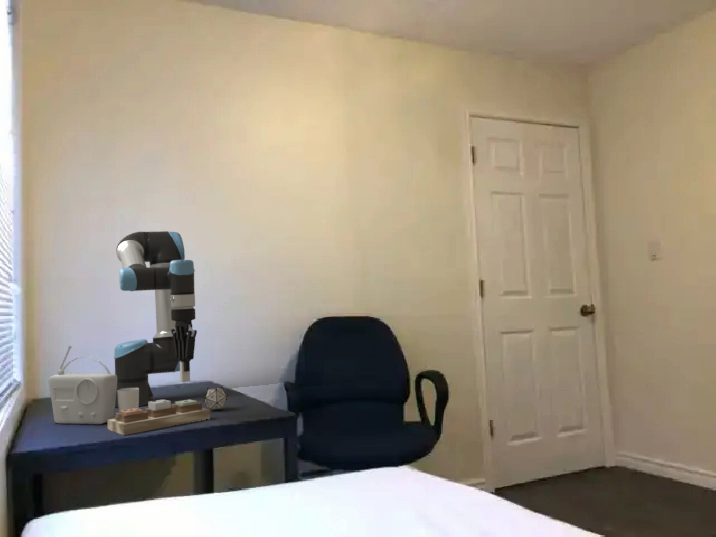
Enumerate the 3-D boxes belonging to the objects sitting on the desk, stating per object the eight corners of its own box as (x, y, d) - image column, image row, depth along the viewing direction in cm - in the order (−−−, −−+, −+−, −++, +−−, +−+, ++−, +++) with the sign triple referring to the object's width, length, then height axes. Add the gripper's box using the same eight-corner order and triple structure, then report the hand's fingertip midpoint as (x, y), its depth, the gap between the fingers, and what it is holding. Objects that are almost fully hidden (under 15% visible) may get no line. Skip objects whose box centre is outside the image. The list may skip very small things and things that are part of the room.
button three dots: (120, 418, 197) (119, 410, 197) (136, 416, 201) (135, 407, 201) (126, 420, 194) (126, 412, 194) (143, 418, 197) (142, 409, 197)
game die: (219, 422, 221) (220, 401, 216) (197, 413, 223) (197, 392, 218) (232, 404, 229) (233, 384, 223) (210, 396, 230) (211, 375, 225)
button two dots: (148, 409, 203) (148, 401, 203) (163, 407, 207) (163, 399, 207) (155, 411, 200) (155, 403, 200) (170, 409, 203) (170, 400, 203)
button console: (107, 429, 198) (107, 412, 198) (191, 414, 217) (191, 399, 217) (123, 435, 189) (123, 417, 189) (210, 419, 208) (209, 403, 208)
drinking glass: (115, 420, 211) (114, 389, 212) (136, 417, 215) (135, 387, 216) (121, 423, 206) (120, 391, 206) (142, 420, 210) (141, 389, 210)
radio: (45, 424, 210) (43, 346, 210) (63, 419, 218) (61, 344, 218) (103, 426, 204) (101, 345, 205) (120, 420, 212) (118, 343, 213)
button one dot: (175, 409, 209) (175, 401, 209) (189, 407, 213) (189, 399, 213) (182, 411, 206) (182, 403, 206) (197, 408, 209) (197, 400, 209)
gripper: (162, 308, 212) (165, 380, 212) (181, 309, 203) (184, 385, 203) (184, 306, 217) (186, 377, 217) (203, 307, 208) (205, 382, 208)
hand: (185, 381), depth 210 cm, fingers closed
